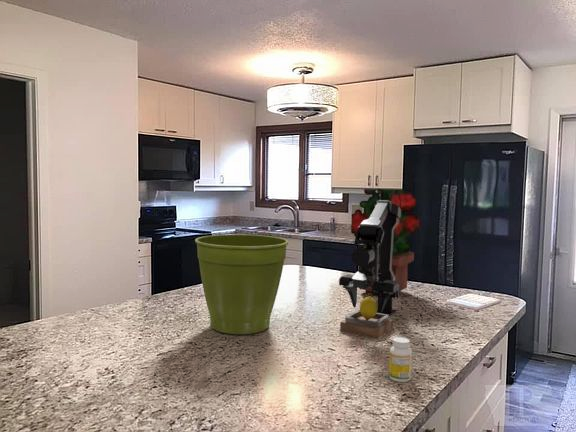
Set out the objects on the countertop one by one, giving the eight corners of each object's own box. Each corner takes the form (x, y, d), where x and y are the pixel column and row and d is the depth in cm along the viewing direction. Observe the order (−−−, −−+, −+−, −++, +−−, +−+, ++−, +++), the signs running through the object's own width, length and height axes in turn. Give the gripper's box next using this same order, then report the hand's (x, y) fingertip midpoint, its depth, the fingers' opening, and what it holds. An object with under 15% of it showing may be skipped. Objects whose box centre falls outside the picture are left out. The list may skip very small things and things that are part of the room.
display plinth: (356, 321, 166) (357, 308, 166) (393, 328, 159) (393, 314, 159) (340, 331, 155) (340, 317, 155) (378, 338, 148) (378, 324, 148)
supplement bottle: (404, 384, 115) (406, 345, 114) (384, 378, 118) (386, 340, 118) (414, 377, 119) (416, 339, 118) (395, 371, 122) (396, 334, 122)
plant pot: (176, 334, 149) (176, 241, 146) (221, 310, 176) (222, 232, 174) (265, 347, 138) (266, 248, 136) (298, 320, 166) (300, 237, 164)
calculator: (500, 303, 198) (500, 298, 198) (476, 311, 184) (476, 306, 184) (469, 297, 208) (469, 292, 208) (445, 304, 194) (445, 299, 194)
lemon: (375, 323, 154) (378, 299, 153) (358, 321, 155) (360, 296, 154) (375, 319, 159) (378, 295, 158) (359, 316, 160) (361, 293, 159)
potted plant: (416, 291, 213) (420, 189, 210) (399, 301, 195) (403, 190, 192) (369, 285, 225) (372, 188, 222) (349, 293, 207) (352, 188, 203)
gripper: (331, 262, 153) (330, 310, 155) (387, 268, 144) (386, 320, 145) (346, 257, 163) (345, 303, 164) (400, 263, 153) (398, 312, 154)
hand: (367, 309), depth 156 cm, fingers open, 9 cm apart
